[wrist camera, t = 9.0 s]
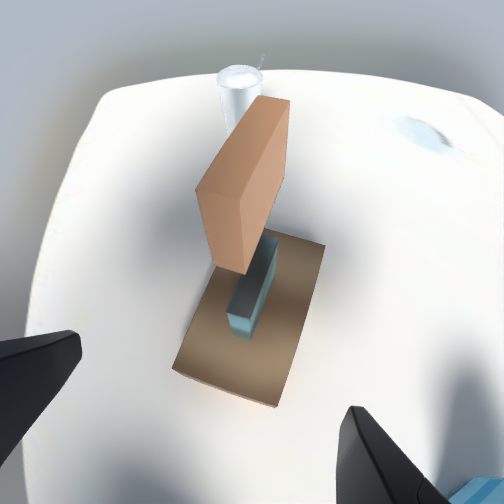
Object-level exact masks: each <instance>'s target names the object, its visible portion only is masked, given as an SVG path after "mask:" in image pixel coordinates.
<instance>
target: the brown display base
mask: <svg viewBox="0 0 504 504" xmlns="http://www.w3.org/2000/svg"><path fill="white" fill-rule="evenodd" d="M324 249H325V245H322V244H318V243H315V242H311V241H308V240H304V239H301V238H297V237H294V236H290V235H287V234H283V233H279V232H276V231H272V230H269V229H265V228H264V229H263V232H262V234H261V237H260V239H259V242H258V244H257V247H256V249H255V252H254V254H253V257H252V259H251V262H250V264H249V267H248V269H247V272H246V274H245V275H244V274H241V273H238V272H235V271H231V270H228V269H225V268H222V267H218V266H216V268H215V270H214V272H213V275H212V277H211V279H210V281H209V284H208V286H207V288H206V290H205V292H204V295H203V297H202V299H201V301H200V304H199V306H198V308H197V311H196V313H195V315H194V317H193V320H192V322H191V324H190V327H189V329H188V331H187V333H186V336H185V338H184V340H183V343H182V345H181V347H180V350H179V352H178V354H177V357H176V359H175V361H174V364H173V366H172V369H173V370H175V371H177V372H178V373H180V374H181V375H183V376H186V377H188V378H191V379H193V380H196V381H198V382H201V383H203V384H206V385H209V386H211V387H214V388H217V389H219V390H222V391H225V392H227V393H230V394H233V395H236V396H239V397H242V398H245V399H248V400H251V401H254V402H257V403H260V404H263V405H267V406H270V407H273V408H275V407H277V406H278V403H279V400H280V397H281V394H282V392H283V389H284V386H285V383H286V380H287V377H288V374H289V371H290V368H291V364H292V361H293V358H294V355H295V352H296V349H297V345H298V342H299V339H300V336H301V332H302V329H303V326H304V322H305V319H306V316H307V312H308V309H309V305H310V302H311V298H312V295H313V291H314V287H315V284H316V280H317V276H318V273H319V269H320V265H321V261H322V257H323V253H324Z"/></svg>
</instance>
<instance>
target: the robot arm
mask: <svg viewBox="0 0 504 504" xmlns="http://www.w3.org/2000/svg"><path fill="white" fill-rule="evenodd" d="M81 358H82V347H81V339H80V336H79V334H78V333H76V332H74V331H72V330H65V331H59V332H54V333H48V334H42V335H37V336H31V337H25V338H19V339H12V340H6V341H0V467H1V466H2V464H3V463H4V461H5V460H6V459H7V457H8V456H9V455H10V453H11V452H12V450H13V449H14V448H15V447H16V445H17V444H18V443H19V441H20V440H21V439H22V437H23V436H24V435H25V434H26V432H27V431H28V430H29V428H30V427H31V426H32V425H33V423H34V422H35V421H36V419H37V418H38V417H39V416H40V414H41V413H42V412H43V411H44V409H45V408H46V407H47V406H48V404H49V403H50V402H51V401H52V400H53V398H54V397H55V396H56V395H57V393H58V392H59V391H60V390H61V388H62V387H63V385H64V384H65V382H66V381H67V379H68V378H69V376H70V375H71V373H72V372H73V370H74V369H75V367H76V366H77V364H78V363H79V361H80V360H81ZM336 504H451V503H450V502H449V501H448V500H447V499H446V498H445V497H444V496H443V495H442V494H441V493H440V492H439V491H438V490H437V489H436V488H435V487H434V486H433V485H432V484H431V483H430V482H429V480H428V479H427V478H426V477H424V475H423V474H422V473H421V472H420V471H419V469H418V468H417V467H416V466H415V465H414V464H413V463H412V462H411V460H410V459H409V458H408V457H407V456H406V455H405V454H404V452H403V451H402V450H401V449H400V448H399V447H398V446H397V445H396V443H395V442H394V441H393V440H392V439H391V438H390V437H389V435H388V434H387V433H386V432H385V431H384V430H383V429H382V427H381V426H380V425H379V424H378V423H377V422H376V421H375V419H374V418H373V417H372V416H371V415H370V414H369V413H368V411H367V410H366V409H365V408H364V407H361V406H350V407H349V409H348V411H347V413H346V415H345V417H344V419H343V421H342V423H341V426H340V432H339V444H338V455H337V465H336Z"/></svg>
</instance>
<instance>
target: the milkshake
mask: <svg viewBox="0 0 504 504" xmlns="http://www.w3.org/2000/svg"><path fill="white" fill-rule="evenodd" d="M264 55H265V54H263V53H262V54H261V57H260V60H259V62H258V65H257V68H254V67H250V66H247V65H232V66H229V67H227V68H225V69H223V70H221V71H220V72H219V74H218V76H217V83H218V87H219V92H220V96H221V101H222V106H223V111H224V116H225V122H226V127H227V133H228V137H229V136H230V134H231V133H232V131H233V130H234V128H235V127H236V125H237V124H238V123H239V121H240V120H241V118H242V117H243V115H244V114H245V112H246V111H247V109H248V108H249V107H250V105H251V104H252V102H253V101H254V100H255V98H256V97H257V95H261V86H262V78H263V75H262V73H261V72H260V71H259V69H260V67H261V64H262V61H263V58H264Z"/></svg>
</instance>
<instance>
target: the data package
mask: <svg viewBox="0 0 504 504" xmlns="http://www.w3.org/2000/svg"><path fill="white" fill-rule="evenodd" d="M448 501H449V502H450V503H451V504H504V478H490V477H474V478H473V479H472V480H470V481H469V482H468V483H467V484H466V485H465V486H464V487H463V488H461V489H460V490H459V491H458V492H457V493H455V494H454V495H453V496H452V497H451V498H449V499H448Z"/></svg>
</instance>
